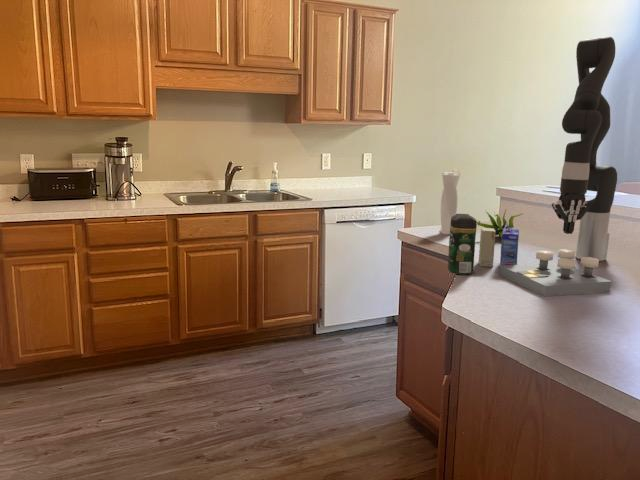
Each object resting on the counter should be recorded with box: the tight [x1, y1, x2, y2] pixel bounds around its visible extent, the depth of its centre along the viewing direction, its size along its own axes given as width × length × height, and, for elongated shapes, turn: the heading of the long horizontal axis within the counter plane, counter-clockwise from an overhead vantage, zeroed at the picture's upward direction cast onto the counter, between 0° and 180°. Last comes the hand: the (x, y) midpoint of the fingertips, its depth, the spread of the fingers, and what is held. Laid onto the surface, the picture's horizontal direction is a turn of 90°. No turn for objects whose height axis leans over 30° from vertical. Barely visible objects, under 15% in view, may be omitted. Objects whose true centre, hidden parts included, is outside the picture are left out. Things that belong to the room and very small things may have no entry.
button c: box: [535, 250, 554, 269], centre depth 172 cm, size 5×5×5 cm
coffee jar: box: [447, 213, 478, 276], centre depth 177 cm, size 10×8×19 cm
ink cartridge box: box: [499, 223, 520, 270], centre depth 185 cm, size 10×6×14 cm, turn 161°
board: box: [499, 262, 612, 297], centre depth 168 cm, size 22×22×3 cm
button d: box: [557, 258, 577, 278], centre depth 163 cm, size 5×5×5 cm
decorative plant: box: [476, 209, 523, 244], centre depth 220 cm, size 18×30×15 cm, turn 138°
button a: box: [557, 248, 576, 260], centre depth 174 cm, size 5×5×5 cm
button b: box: [579, 257, 600, 276], centre depth 165 cm, size 5×5×5 cm
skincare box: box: [478, 227, 496, 268], centre depth 187 cm, size 6×4×12 cm
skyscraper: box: [439, 168, 461, 236], centre depth 237 cm, size 8×8×28 cm
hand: (567, 233), depth 172 cm, fingers closed
